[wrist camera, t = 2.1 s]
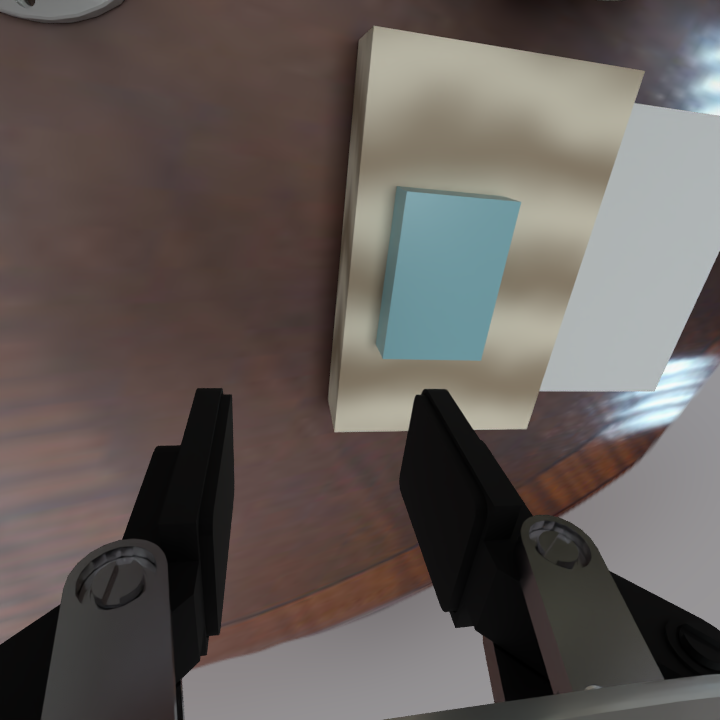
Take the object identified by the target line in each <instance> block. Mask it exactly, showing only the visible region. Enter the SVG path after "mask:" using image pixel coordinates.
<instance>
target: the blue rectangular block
mask: <svg viewBox="0 0 720 720" xmlns="http://www.w3.org/2000/svg"><path fill="white" fill-rule="evenodd" d="M520 205H521V202H520V201H517V200H514V199H511V198H507V197H504V196H496V195H485V194H475V193H464V192H454V191H443V190H433V189H422V188H412V187H401V186H397V188H396V196H395V203H394V211H393V218H392V226H391V233H390V241H389V248H388V256H387V263H386V271H385V278H384V286H383V293H382V301H381V308H380V316H379V323H378V331H377V338H376V346H377V348H378V350H379V352H380V354H381V356H382V358H383V359H410V360H471V361H481V359H482V355H483V351H484V347H485V343H486V339H487V335H488V331H489V327H490V323H491V319H492V315H493V312H494V308H495V304H496V300H497V296H498V292H499V288H500V284H501V280H502V276H503V272H504V268H505V264H506V260H507V256H508V252H509V249H510V245H511V241H512V237H513V233H514V229H515V225H516V221H517V217H518V213H519V209H520Z"/></svg>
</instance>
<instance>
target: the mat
mask: <svg viewBox="0 0 720 720" xmlns="http://www.w3.org/2000/svg"><path fill="white" fill-rule="evenodd" d="M719 251H720V116H717V115H710V114H703V113H697V112H690V111H683V110H676V109H670V108H663V107H656V106H650V105H643V104H636V103H634V105H633V108H632V112H631V115H630V118H629V121H628V124H627V127H626V130H625V133H624V136H623V139H622V142H621V145H620V148H619V151H618V154H617V157H616V160H615V163H614V166H613V169H612V172H611V175H610V178H609V181H608V184H607V187H606V190H605V193H604V196H603V199H602V202H601V205H600V208H599V211H598V214H597V217H596V220H595V223H594V226H593V229H592V232H591V236H590V239H589V242H588V245H587V248H586V251H585V254H584V257H583V260H582V263H581V266H580V269H579V272H578V275H577V278H576V281H575V284H574V287H573V290H572V293H571V296H570V299H569V302H568V305H567V308H566V311H565V314H564V317H563V320H562V323H561V326H560V329H559V332H558V335H557V338H556V341H555V344H554V347H553V350H552V353H551V356H550V360H549V363H548V366H547V369H546V372H545V375H544V378H543V381H542V384H541V387H540V390H539V391H655V389H656V387H657V384H658V382H659V380H660V378H661V376H662V374H663V372H664V369H665V367H666V365H667V363H668V361H669V359H670V356H671V354H672V352H673V350H674V348H675V346H676V344H677V341H678V339H679V337H680V335H681V333H682V331H683V328H684V326H685V324H686V322H687V320H688V318H689V316H690V313H691V311H692V309H693V307H694V305H695V303H696V301H697V298H698V296H699V294H700V292H701V290H702V288H703V285H704V283H705V281H706V279H707V277H708V275H709V273H710V270H711V268H712V266H713V264H714V262H715V260H716V257H717V255H718V253H719Z"/></svg>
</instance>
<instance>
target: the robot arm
mask: <svg viewBox="0 0 720 720" xmlns="http://www.w3.org/2000/svg"><path fill="white" fill-rule="evenodd" d="M123 1H124V0H35V4H34V6H31V5H30V4H29V2H28V0H0V12H2V13H5V14H8V15H10V16H13V17H16V18H22V19H27V20H32V21H37V22H42V23H73V22H77V21H81V20H85V19H89V18H93V17H97V16H99V15H101V14H103V13H105V12H107V11H109V10H110V9H112V8H114V7H116V6H118V5H120V4H121V3H122V2H123ZM399 484H400V491H401V494H402V497H403V500H404V503H405V505H406V508H407V511H408V514H409V517H410V520H411V523H412V526H413V528H414V531H415V534H416V537H417V540H418V543H419V546H420V549H421V552H422V554H423V557H424V560H425V563H426V566H427V569H428V572H429V575H430V577H431V580H432V583H433V586H434V589H435V591H436V595H437V598H438V600H439V603H440V606H441V608H442V610H443V611H444V612H450V614H451V617H452V620H453V623H454V625H455V628H460V627H469V626H474V628H475V630H476V631H477V632H479V633H480V634H482V635H483V645H484V650H485V655H486V661H487V666H488V671H489V676H490V682H491V687H492V692H493V697H494V702H495V703H494V704H487V705H480V706H473V707H466V708H460V709H453V710H446V711H439V712H432V713H425V714H419V715H412V716H405V717H398V718H392V719H385V720H720V631H719V630H718V629H717V628H715V627H714V626H712V625H711V624H709V623H707V622H706V621H704V620H703V619H701V618H699V617H697V616H695V615H693V614H691V613H689V612H687V611H685V610H684V609H681V608H680V607H678V606H676V605H674V604H672V603H670V602H668V601H666V600H664V599H662V598H660V597H658V596H657V595H655V594H653V593H651V592H649V591H647V590H645V589H643V588H641V587H639V586H637V585H635V584H634V583H632V582H630V581H628V580H626V579H624V578H622V577H620V576H618V575H616V574H614V573H612V572H610V571H609V570H608V568H607V566H606V564H605V562H604V560H603V558H602V556H601V555H600V552H599V551H598V548H597V547H596V546H595V544H594V543H593V541H592V540H591V538H590V537H589V536H588V535H587V534H585V533H584V532H583V531H582V530H581V529H579V528H578V527H577V526H575V525H574V524H572V523H570V522H568V521H566V520H563V519H561V518H559V517H554V516H550V515H536V516H532V514H531V513H530V511H529V510H528V508H527V506H526V505H525V503H524V502H523V500H522V499H521V497H520V496H519V494H518V493H517V491H516V490H515V488H514V487H513V485H512V484H511V482H510V481H509V479H508V478H507V476H506V475H505V473H504V472H503V470H502V469H501V467H500V466H499V464H498V463H497V461H496V459H495V458H494V456H493V455H492V453H491V452H490V450H489V449H488V447H487V446H486V444H485V443H484V442H483V441H482V440H480V439H479V437H478V436H477V434H476V433H475V431H474V430H473V428H472V427H471V425H470V424H469V422H468V421H467V419H466V418H465V416H464V414H463V413H462V411H461V410H460V408H459V407H458V405H457V404H456V402H455V401H454V399H453V398H452V396H451V395H450V393H449V391H448V390H447V389H424V390H423V391H422V393H421V395H416V396H415V398H414V402H413V408H412V413H411V418H410V424H409V429H408V434H407V440H406V445H405V450H404V456H403V461H402V466H401V472H400V478H399ZM233 501H234V453H233V414H232V395H223V389H222V388H197V390H196V393H195V397H194V400H193V404H192V408H191V411H190V415H189V418H188V422H187V425H186V429H185V432H184V436H183V440H182V443H181V445H177V446H157V447H156V448H155V450H154V452H153V455H152V458H151V461H150V463H149V466H148V469H147V472H146V475H145V477H144V480H143V483H142V486H141V489H140V491H139V494H138V497H137V500H136V503H135V505H134V508H133V511H132V514H131V516H130V519H129V522H128V525H127V528H126V530H125V533H124V536H123V539H122V540H118V541H115V542H112V543H109V544H106V545H104V546H102V547H100V548H98V549H96V550H94V551H93V552H91V553H89V554H88V555H87V556H86V557H85V558H83V559H82V560H81V561H80V562H79V563H77V565H76V566H75V567H74V569H73V570H72V571H71V573H70V574H69V575H68V577H67V580H66V583H65V585H64V588H63V593H62V599H61V604H60V605H58V606H57V607H56V608H54V609H53V610H51V611H50V612H48V613H47V614H45V615H44V616H42V617H41V618H39V619H38V620H36V621H35V622H33V623H32V624H30V625H29V626H27V627H26V628H24V629H23V630H21V631H20V632H18V633H17V634H15V635H14V636H12V637H11V638H10V639H8V640H7V641H5V642H4V643H2V644H1V645H0V720H184V705H183V690H182V689H183V688H182V678H183V677H184V676H185V675H186V674H187V673H188V672H189V671H190V670H191V669H192V668H193V667H194V666H195V665H196V664H197V663H198V662H199V661H200V656H204V655H207V649H208V640H209V636H213V635H219V634H220V628H221V619H222V609H223V599H224V589H225V579H226V570H227V560H228V550H229V540H230V530H231V520H232V511H233Z"/></svg>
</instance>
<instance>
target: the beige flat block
mask: <svg viewBox="0 0 720 720" xmlns="http://www.w3.org/2000/svg"><path fill="white" fill-rule="evenodd" d="M644 72H645V71H642V70H636V69H630V68H624V67H618V66H612V65H606V64H600V63H594V62H588V61H582V60H576V59H570V58H564V57H558V56H552V55H546V54H540V53H534V52H528V51H522V50H516V49H510V48H504V47H498V46H492V45H486V44H480V43H474V42H468V41H462V40H456V39H450V38H444V37H438V36H432V35H426V34H420V33H414V32H408V31H402V30H396V29H390V28H384V27H378V26H373V27H372V28H371V29H370V30H369V31H368V32H367V33H366V34H365V35H364V36H363V37H362V38H360V39H359V44H358V56H357V67H356V79H355V91H354V102H353V114H352V125H351V137H350V149H349V160H348V172H347V184H346V195H345V207H344V218H343V230H342V242H341V253H340V265H339V276H338V288H337V300H336V311H335V323H334V334H333V346H332V358H331V369H330V381H329V393H328V403H329V408H330V413H331V418H332V423H333V428H334V432H369V431H408V429H409V424H410V418H411V413H412V408H413V402H414V398H415V396H416V395H421V393H422V391H423V390H424V389H447V390H448V391H449V393H450V395H451V396H452V398H453V399H454V401H455V402H456V404H457V405H458V407H459V408H460V410H461V411H462V413H463V414H464V416H465V418H466V419H467V421H468V422H469V424H470V425H471V427H472V428H473V430H490V429H527V426H528V423H529V420H530V417H531V414H532V411H533V408H534V405H535V402H536V399H537V396H538V393H539V390H540V387H541V384H542V381H543V378H544V375H545V372H546V369H547V366H548V363H549V360H550V356H551V353H552V350H553V347H554V344H555V341H556V338H557V335H558V332H559V329H560V326H561V323H562V320H563V317H564V314H565V311H566V308H567V305H568V302H569V299H570V296H571V293H572V290H573V287H574V284H575V281H576V278H577V275H578V272H579V269H580V266H581V263H582V260H583V257H584V254H585V251H586V248H587V245H588V242H589V239H590V236H591V232H592V229H593V226H594V223H595V220H596V217H597V214H598V211H599V208H600V205H601V202H602V199H603V196H604V193H605V190H606V187H607V184H608V181H609V178H610V175H611V172H612V169H613V166H614V163H615V160H616V157H617V154H618V151H619V148H620V145H621V142H622V139H623V136H624V133H625V130H626V127H627V124H628V121H629V118H630V115H631V112H632V108H633V105H634V102H635V99H636V96H637V93H638V90H639V87H640V84H641V81H642V78H643V75H644ZM397 186H401V187H412V188H422V189H433V190H443V191H454V192H464V193H475V194H485V195H496V196H504V197H507V198H511V199H514V200H517V201H520V202H521V205H520V209H519V213H518V217H517V221H516V225H515V229H514V233H513V237H512V241H511V245H510V249H509V252H508V256H507V260H506V264H505V268H504V272H503V276H502V280H501V284H500V288H499V292H498V296H497V300H496V304H495V308H494V312H493V315H492V319H491V323H490V327H489V331H488V335H487V339H486V343H485V347H484V351H483V355H482V359H481V361H471V360H410V359H383V358H382V356H381V354H380V352H379V350H378V348H377V346H376V338H377V331H378V323H379V316H380V308H381V301H382V293H383V286H384V278H385V271H386V263H387V256H388V248H389V241H390V233H391V226H392V218H393V211H394V203H395V196H396V188H397Z"/></svg>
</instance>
